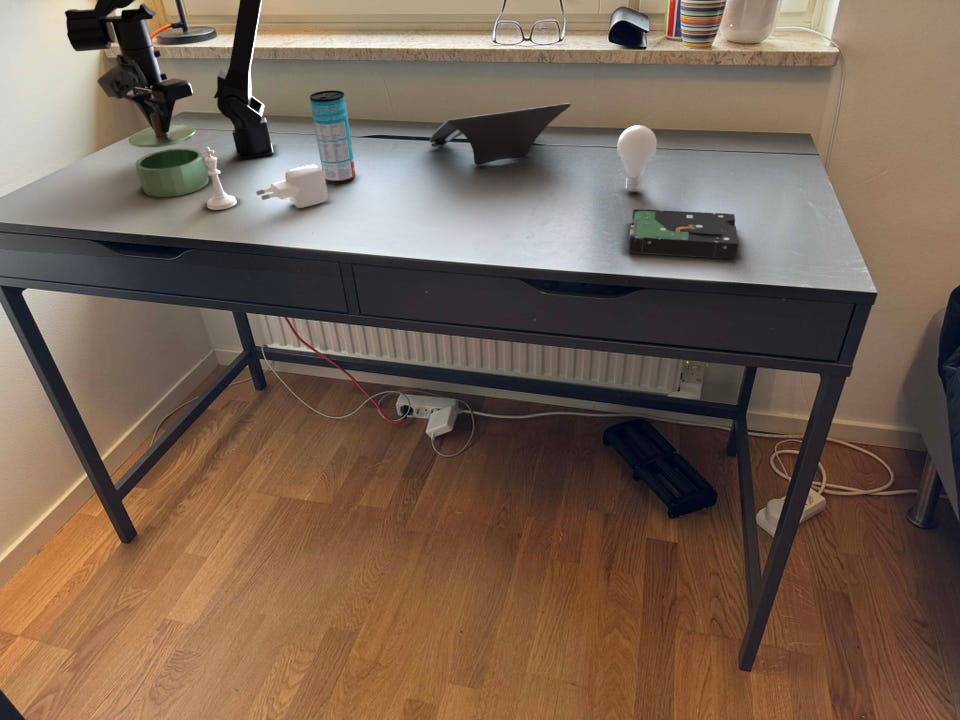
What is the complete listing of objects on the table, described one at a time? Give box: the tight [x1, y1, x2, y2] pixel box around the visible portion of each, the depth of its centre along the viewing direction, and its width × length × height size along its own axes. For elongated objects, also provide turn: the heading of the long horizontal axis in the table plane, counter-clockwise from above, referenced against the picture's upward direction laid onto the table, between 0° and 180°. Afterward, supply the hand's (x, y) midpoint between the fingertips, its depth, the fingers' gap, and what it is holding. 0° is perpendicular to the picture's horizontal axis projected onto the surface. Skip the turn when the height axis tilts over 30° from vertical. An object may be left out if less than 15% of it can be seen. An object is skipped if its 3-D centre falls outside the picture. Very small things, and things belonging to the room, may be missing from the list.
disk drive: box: [627, 208, 739, 259], centre depth 104 cm, size 10×3×15 cm
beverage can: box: [309, 90, 357, 185], centre depth 128 cm, size 6×6×15 cm
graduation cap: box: [429, 102, 571, 166], centre depth 137 cm, size 23×23×9 cm
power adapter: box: [256, 164, 329, 209], centre depth 121 cm, size 11×5×6 cm, turn 123°
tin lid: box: [128, 113, 196, 148], centre depth 141 cm, size 12×12×5 cm
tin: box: [135, 148, 210, 198], centre depth 132 cm, size 11×11×5 cm
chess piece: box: [202, 146, 238, 211], centre depth 122 cm, size 5×5×10 cm
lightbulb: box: [616, 124, 658, 193], centre depth 118 cm, size 6×6×11 cm
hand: (161, 131), depth 141 cm, fingers closed on tin lid, 2 cm apart
